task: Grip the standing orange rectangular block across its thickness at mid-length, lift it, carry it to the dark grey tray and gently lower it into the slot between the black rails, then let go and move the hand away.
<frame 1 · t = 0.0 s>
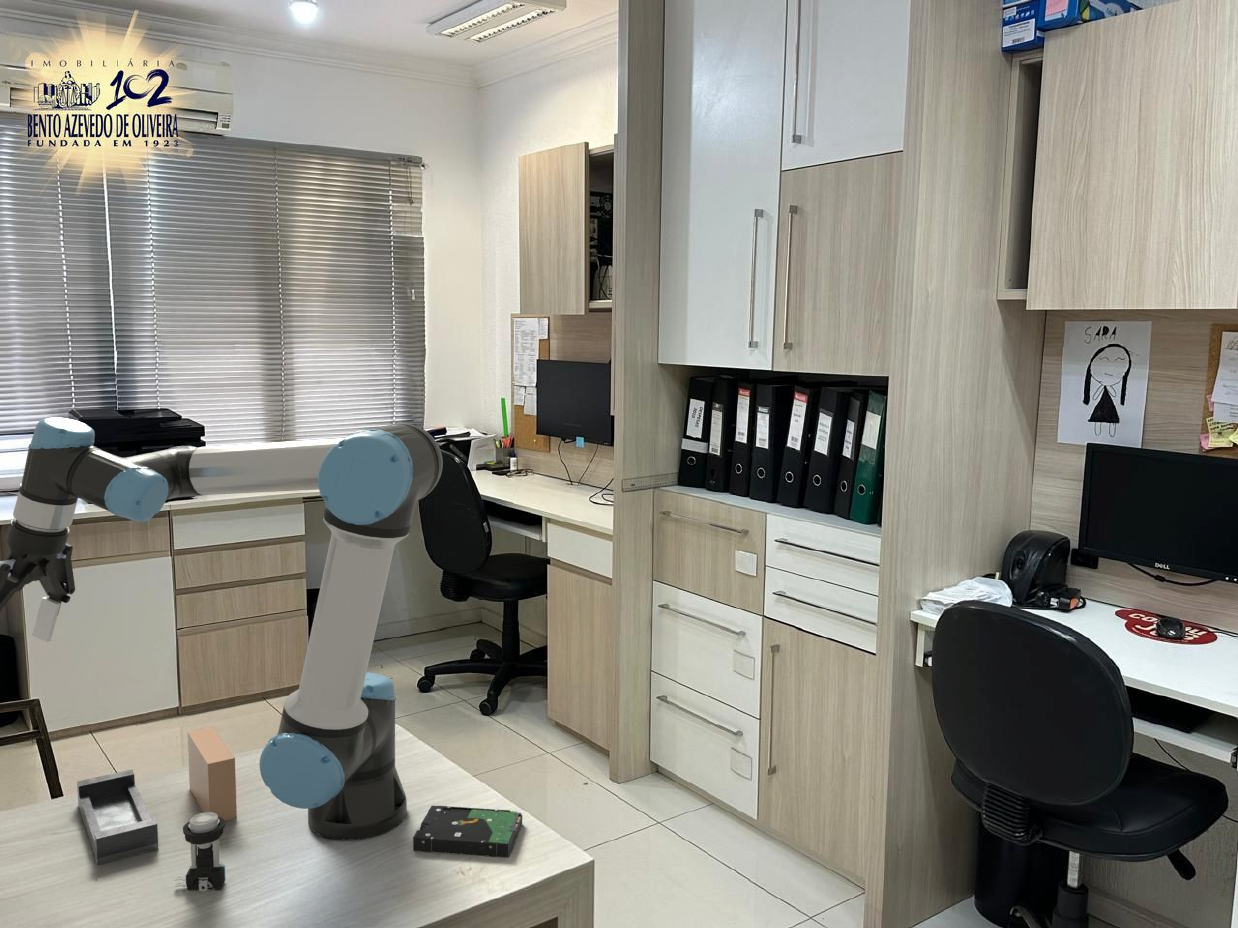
hand: (7, 652, 145), 28 cm above the table, tool tilted 20°, fingers open, 13 cm apart
orange rectangular block: (212, 803, 158), on the table
disk drive: (469, 840, 150), on the table
push button: (201, 887, 135), on the table
dark grey tray: (116, 826, 150), on the table
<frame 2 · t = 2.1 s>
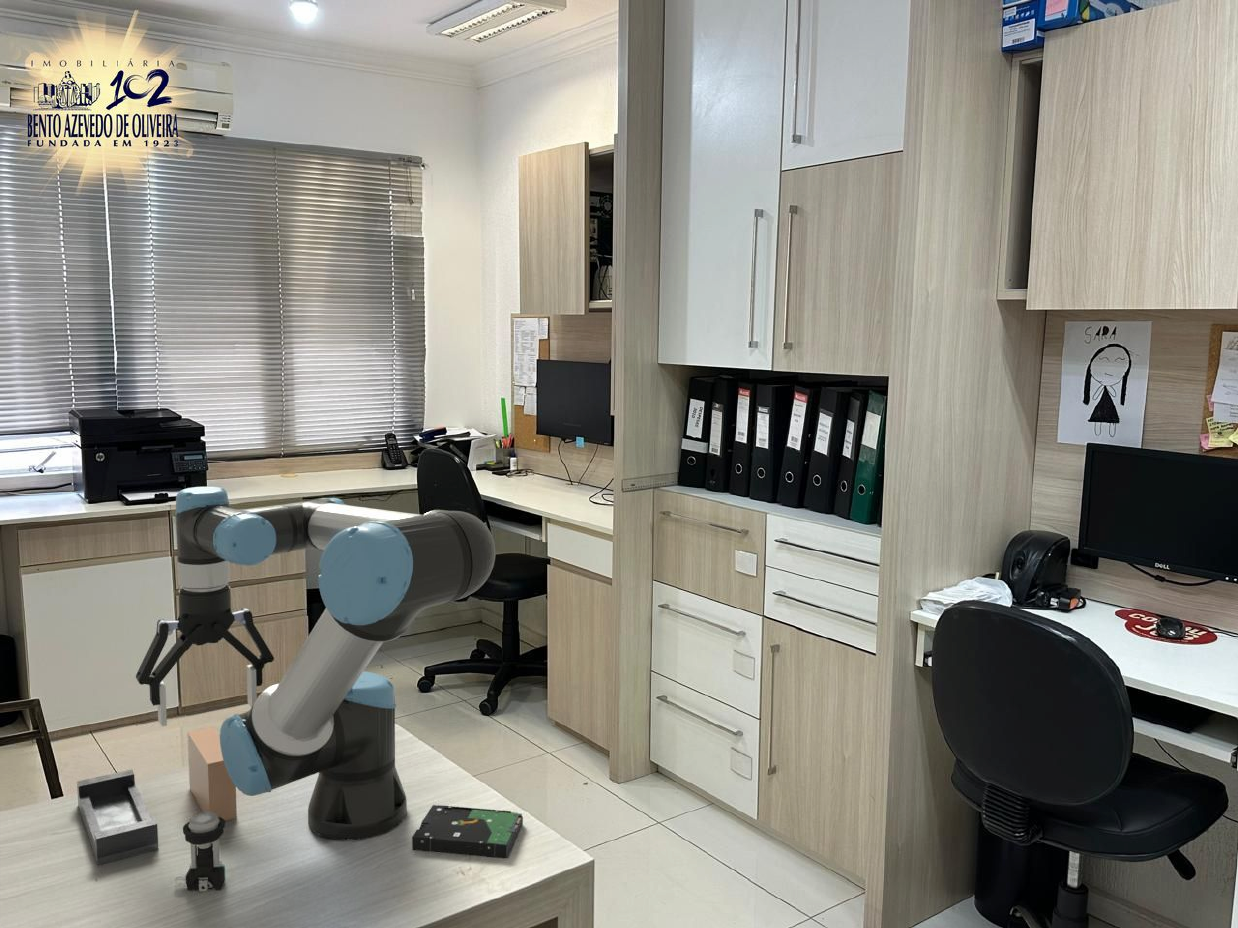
hand: (208, 714, 156), 15 cm above the table, tool pointing down, fingers open, 13 cm apart
nothing on the table moved.
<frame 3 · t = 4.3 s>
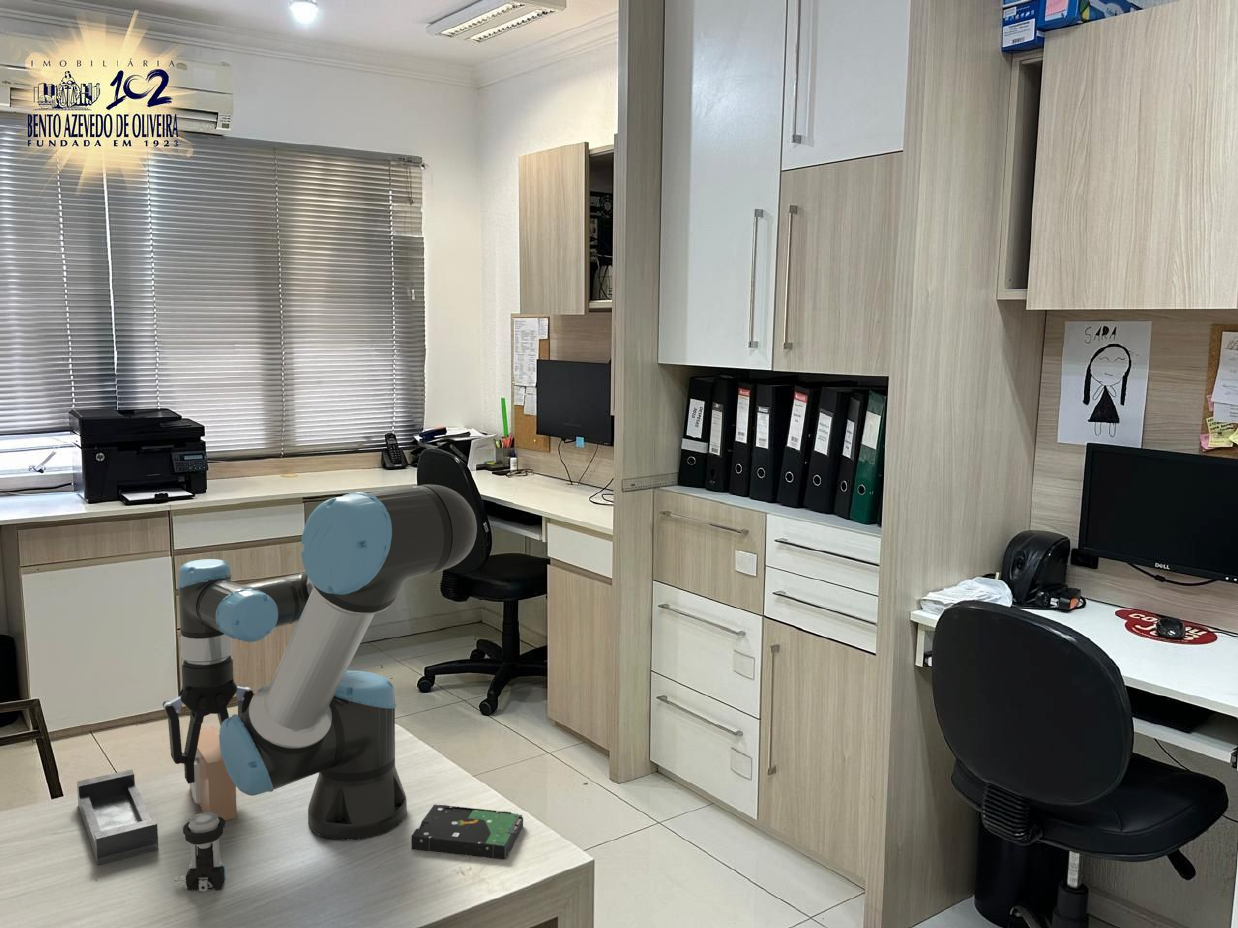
hand: (212, 795, 158), 1 cm above the table, tool pointing down, fingers closed on orange rectangular block, 4 cm apart
orange rectangular block: (212, 802, 158), on the table, touching gripper
everything else where it was.
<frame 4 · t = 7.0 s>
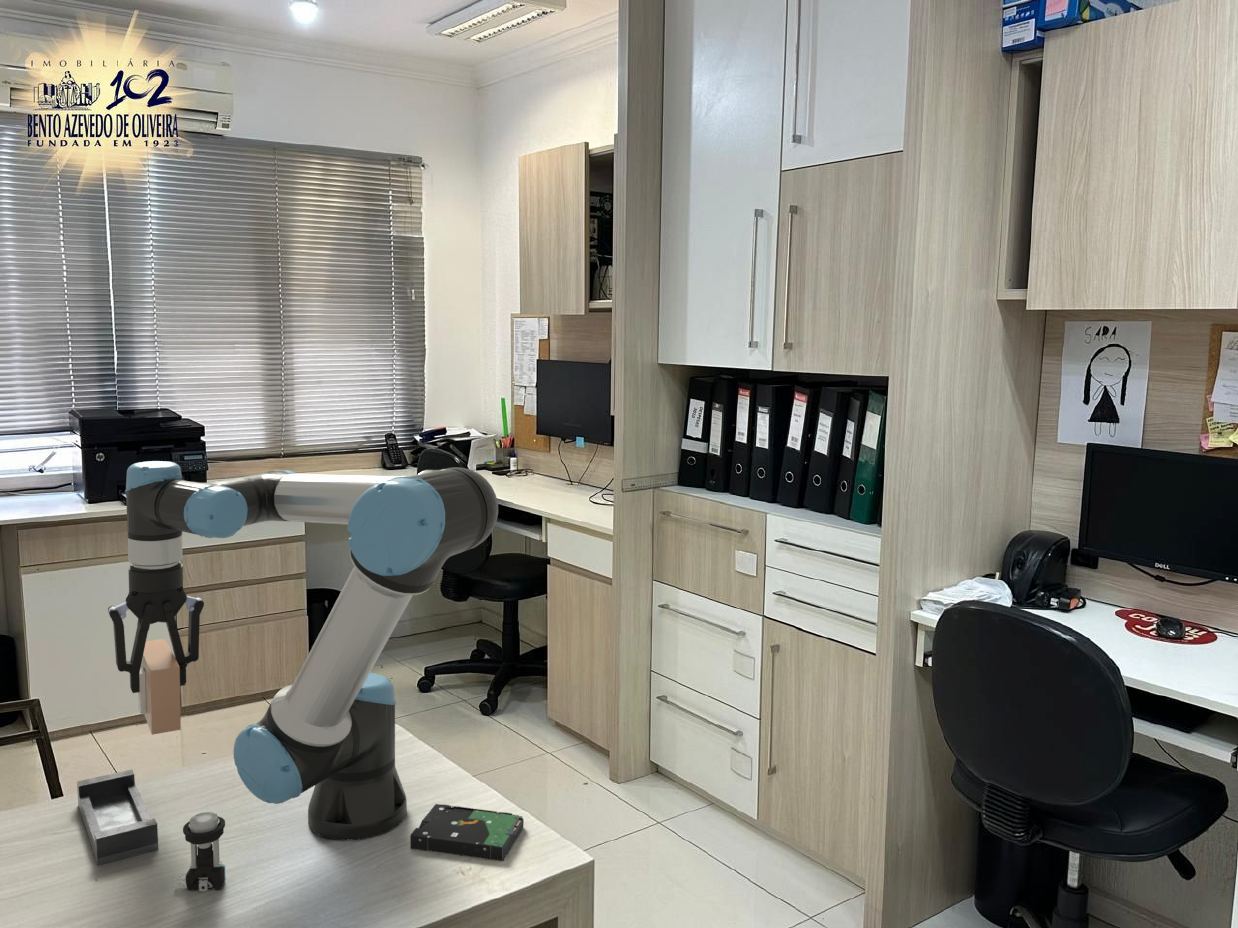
hand: (159, 707, 153), 17 cm above the table, tool pointing down, fingers closed on orange rectangular block, 4 cm apart
orange rectangular block: (159, 715, 153), point 16 cm above the table, touching gripper
everything else where it was.
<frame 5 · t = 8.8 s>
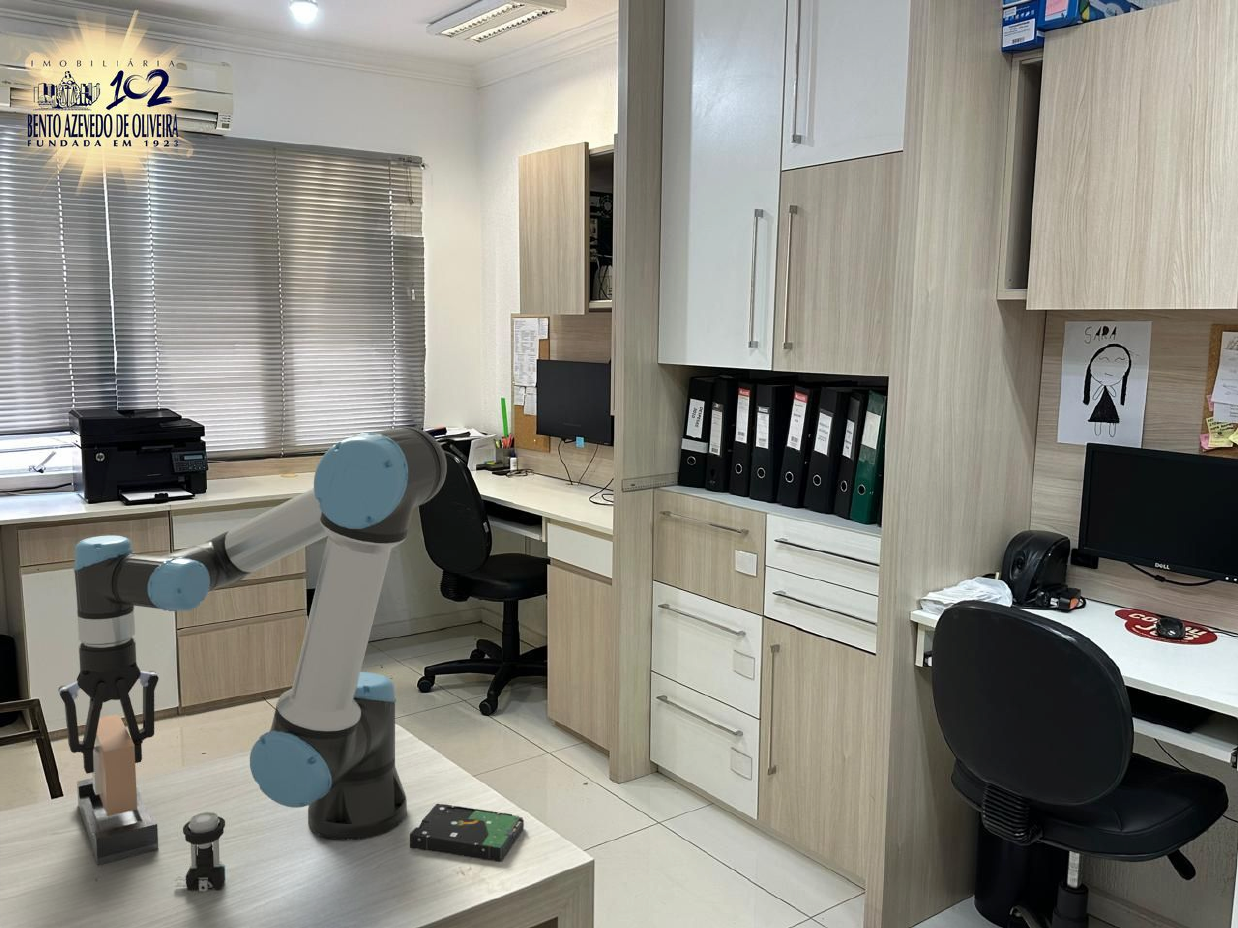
hand: (114, 786, 149), 6 cm above the table, tool pointing down, fingers closed on orange rectangular block, 4 cm apart
orange rectangular block: (114, 793, 150), point 5 cm above the table, touching gripper
everything else where it was.
when the fingers open (4 cm above the table, at t = 9.9 s): orange rectangular block drops 1 cm, resting on dark grey tray.
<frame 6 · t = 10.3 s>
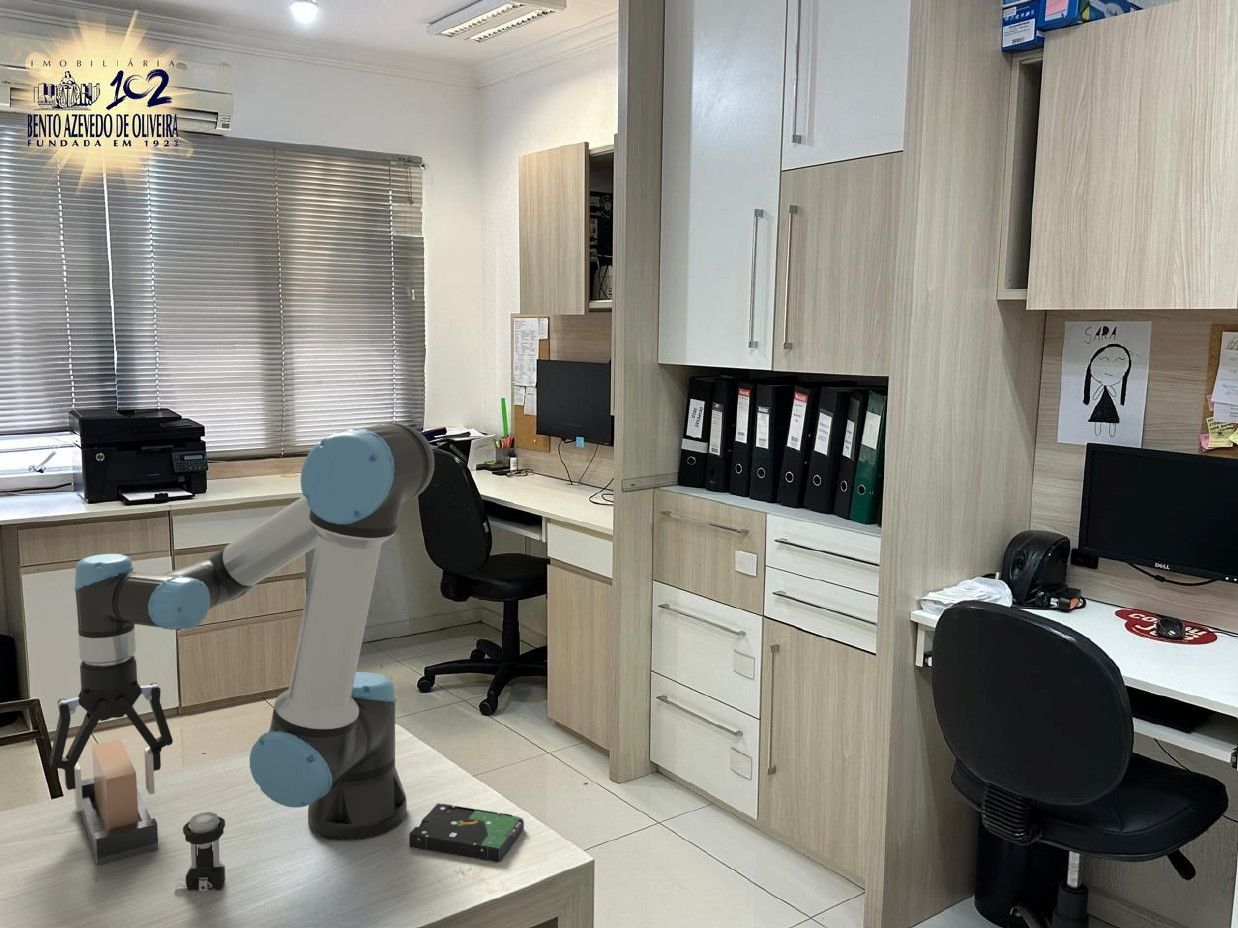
hand: (115, 798, 150), 5 cm above the table, tool pointing down, fingers open, 9 cm apart
orange rectangular block: (116, 819, 150), point 1 cm above the table, touching dark grey tray
everything else where it was.
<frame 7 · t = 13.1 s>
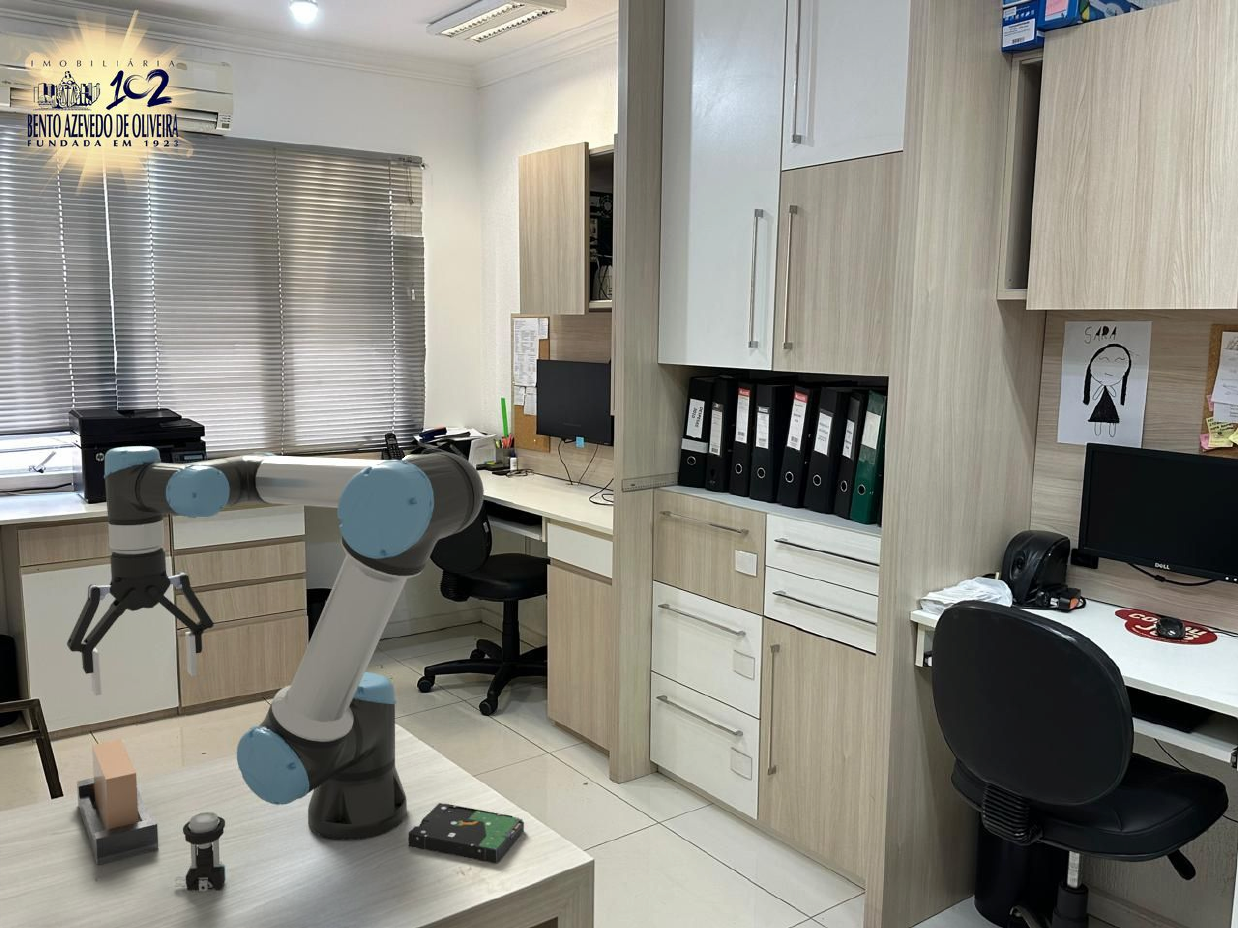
hand: (145, 682, 151), 22 cm above the table, tool pointing down, fingers open, 13 cm apart
nothing on the table moved.
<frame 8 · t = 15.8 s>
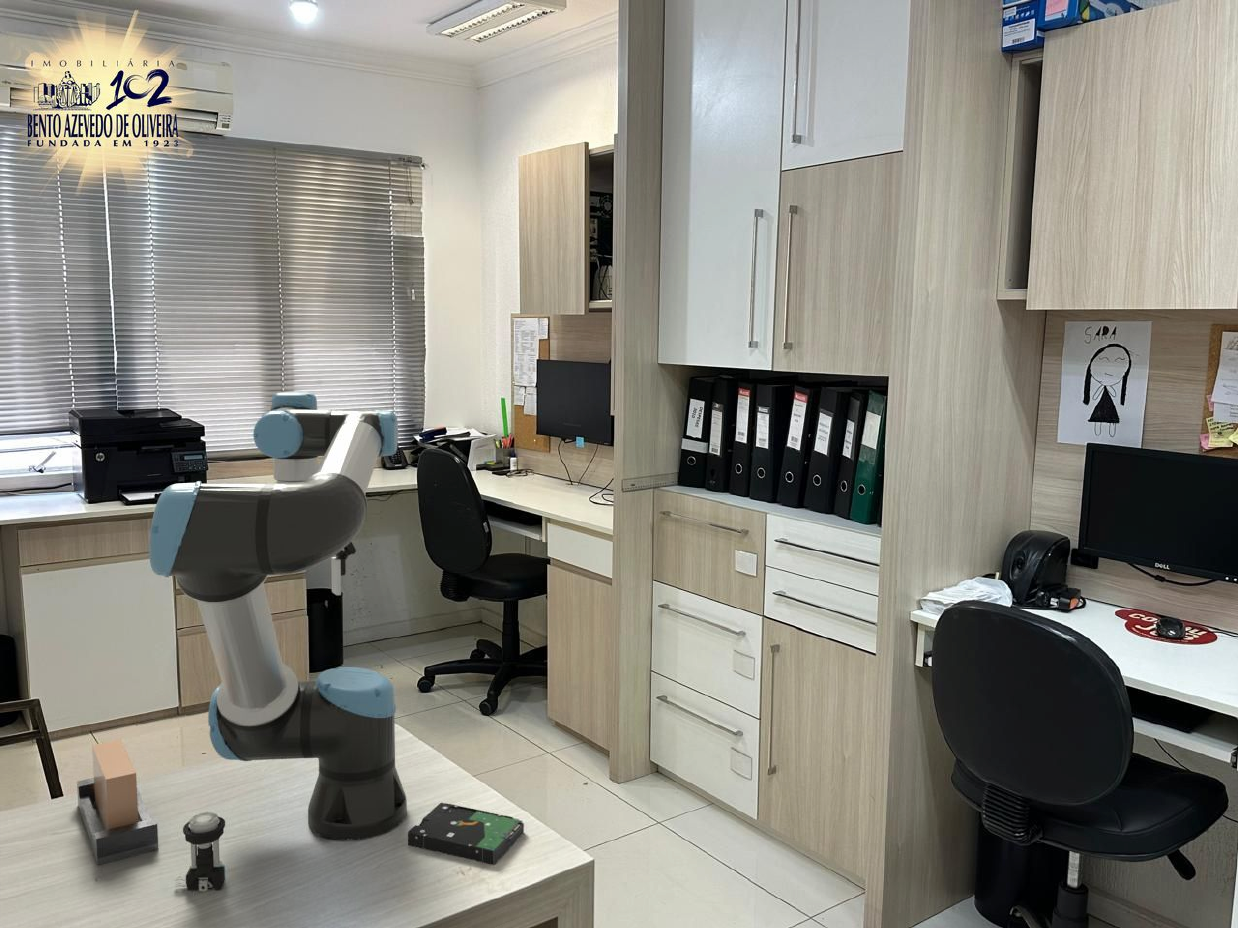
hand: (298, 598, 174), 29 cm above the table, tool pointing down, fingers open, 13 cm apart
at the end: orange rectangular block 0.0 cm off-centre on the dark grey tray, point 1.0 cm above the dark grey tray's base; orange rectangular block tilted 0°; the gripper is holding nothing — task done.
